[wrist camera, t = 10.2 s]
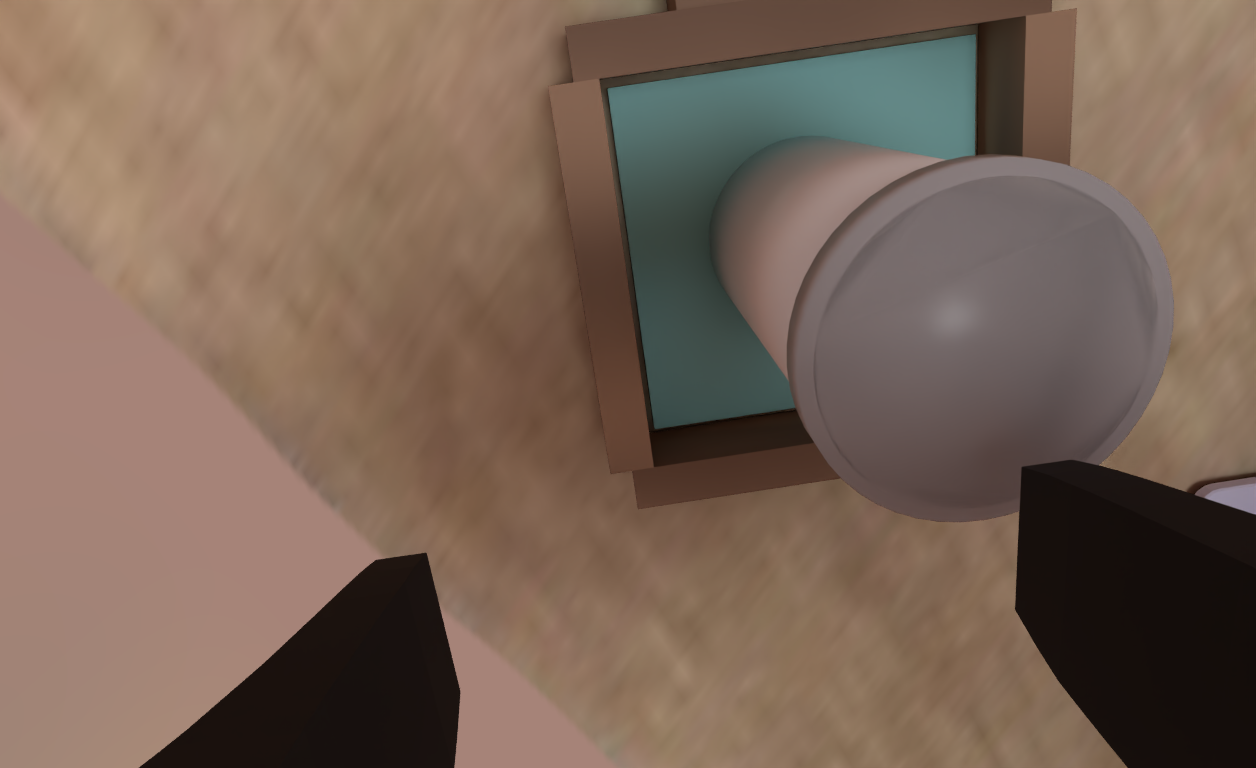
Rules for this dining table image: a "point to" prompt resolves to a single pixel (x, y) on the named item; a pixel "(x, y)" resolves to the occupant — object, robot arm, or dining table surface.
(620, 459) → the brown flat frame
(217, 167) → the dining table surface
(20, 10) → the dining table surface
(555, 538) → the dining table surface
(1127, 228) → the tube
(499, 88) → the dining table surface
